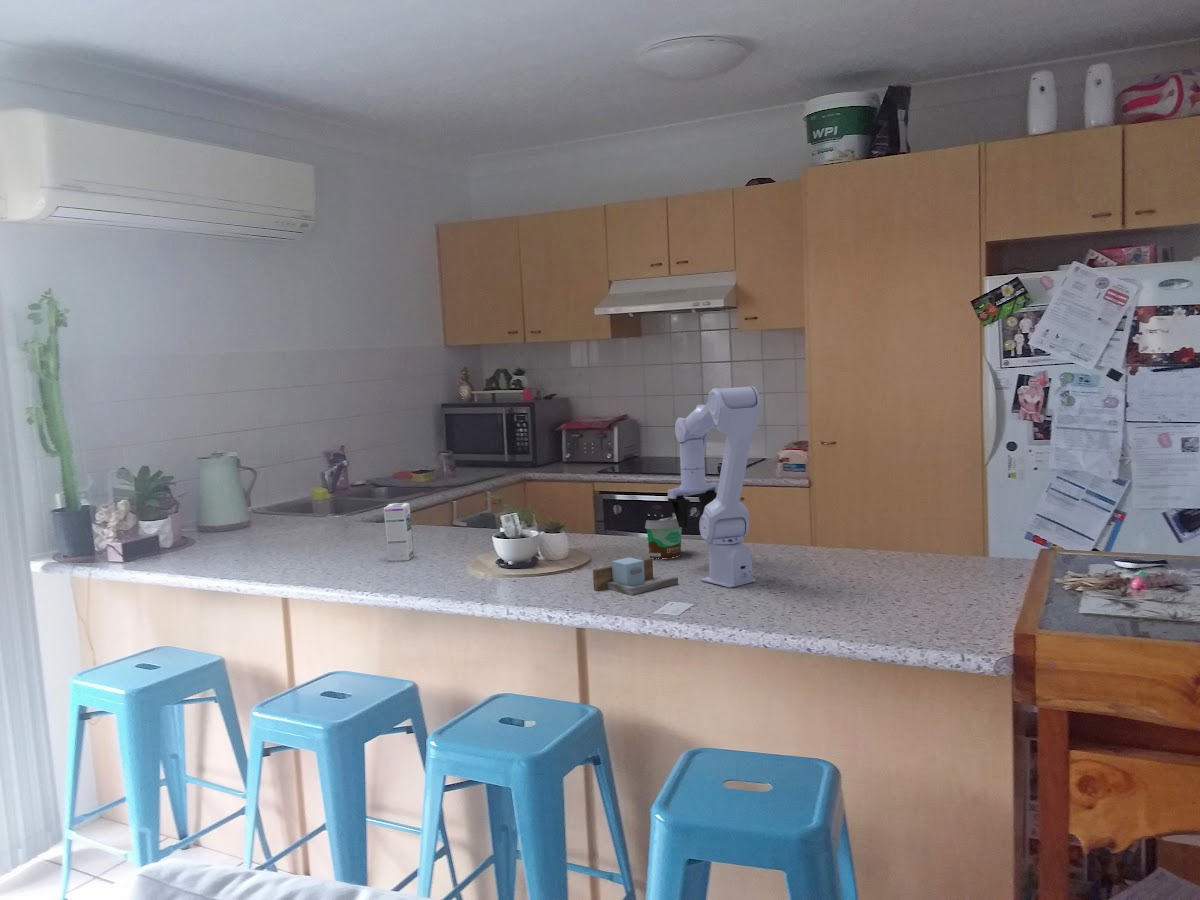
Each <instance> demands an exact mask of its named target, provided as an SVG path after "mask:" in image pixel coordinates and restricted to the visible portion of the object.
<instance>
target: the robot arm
mask: <svg viewBox="0 0 1200 900" xmlns="http://www.w3.org/2000/svg"><path fill="white" fill-rule="evenodd" d="M761 410H762V400H761V396H760V393H759V390H758V389H757V388H756V387H755V386H753V385H749V386H743V387H742V386H741V387H727V388H726V387H725V388H724V387H723V388H722V387H721V388H717V387H714V388H712V389H711V390H710V391H709V392H708V396H707V402H706V404H705V405H704V403H703V404H697V405H696V406H695V409H694V410H692V412H690V413H689V414H688V415H687V416H686V417H684V418H683V417H678V418H677V419H676V421H675V425H674V433H675V438H676V441H678V443H679V459H680V461H679V462H680V465H679V466H680V485H679V486H678V487H673V488H672V489H671V488H669V489H667V502H668V503H669V505H670V506H671V508H672V511H673V513H675V515H676V518H677V522H678V525H679V527H682V529H685V528H687V527H688V511H689V505H690V501H691V500H690V499H688V498H686V497H687V496H694V495H697V497H698V501H699V505H700V513H701V514H700V515H701V516H700V518H699V523H698V525H699V527H698V528H699V533H700V536H701V537H702V539H703V540H704V541H705V542H706V543H708V567H709V568H708V572H709V573H708V574H709V576H706V577H701V579H700V580H701V581H702V582H705V583H709V584H714V585H718V586H723V587H727V588H735V587H739V586H742V585H746V584H750V583H754V582H756V581H757V580H756V578H754V573H753V571H754V569H753V568H754V566H753V565H754V563H753V553H752V550H751V549H750V548H749V546H747V545H745V544H743V542H745V538H747V535H748V534H749V531H750V522H749V521H750V520H749V519H750V512H749V510H748V508H747V506H746V505H745V504H744V503H743V502H741V495H742V491H743V486H744V479H745V477H746V476H745V474H746V471H747V464H748V461H749V460H748V458H749V453H750V448H751V442H752V437H753V432H754V431H755V430H757V429H758V427H759V426H758V425H759V421H760V415H761ZM714 426H716V429H717V431H718V432H719V433H722V434H723V435H726V439H725V446H724V449H723V450H724V452H723V457H722V461H721V462H722V463H721V468H720V475H719V480H718V482H708V483H707V482H706V467H705V449H707V438H708V434H709V431H710V430H711V429H712V428H713V427H714Z"/></svg>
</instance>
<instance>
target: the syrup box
mask: <svg viewBox="0 0 1200 900" xmlns="http://www.w3.org/2000/svg"><path fill="white" fill-rule="evenodd" d="M383 516H384V517H383V518H384V528H385V541H386V551H387V553H386V554H387V561H388V562H401V561H410V559H411V558H413V557H414V555H415V552H414V551H415V550H414V541H413V539H414V538H413V528H412V527H413V526H412V515H411V506H410V503H409V502H395V503H388V504H387V506H385V507H383Z"/></svg>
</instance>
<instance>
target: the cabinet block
mask: <svg viewBox="0 0 1200 900" xmlns="http://www.w3.org/2000/svg"><path fill="white" fill-rule="evenodd" d="M611 566H612V574H613V582H616V583H620V584H623V585H627V586H631V587H634V586H638V585H642V584H646V583H645V580H646V579H645V577H644V561H643V560H640V559H638V558H634V557H631V556H630V557H625V558H621V559H616V560H611Z"/></svg>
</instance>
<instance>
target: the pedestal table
mask: <svg viewBox="0 0 1200 900" xmlns="http://www.w3.org/2000/svg"><path fill="white" fill-rule="evenodd" d="M639 560H643V561H644V577H645V580H649V579H648V578H650V579H654V566H653V565H654V564H653V562H654V559H652V558H650V557H645V558H641V559H639ZM592 576H593V577H592V579H593V591H596V590H597V591H602V590H606V588H607V589H609V590H613V591H616V592H619V593H622V594H625V595H626V594H627V595H629V596H634V594H635V595H639V594H643V593H647V592H651V591H650V590H652V591H654V589H656V590H659V589H658V588H660V589H663V587H664V588H667V587H668V588H669V587H671V586H676V585H679V578H678V577H675V576H673V577H669V578H664V579H659V580H656V581H652V582H647V583H645V584H642V585H638V586H634V587H631V586H627V585H623V584H620V583H616V582H613V574H612V565H609V566H603V567H598V568H594V569H592ZM675 584H676V585H675ZM646 591H647V592H646ZM642 592H643V593H642ZM638 593H639V594H638Z"/></svg>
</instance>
